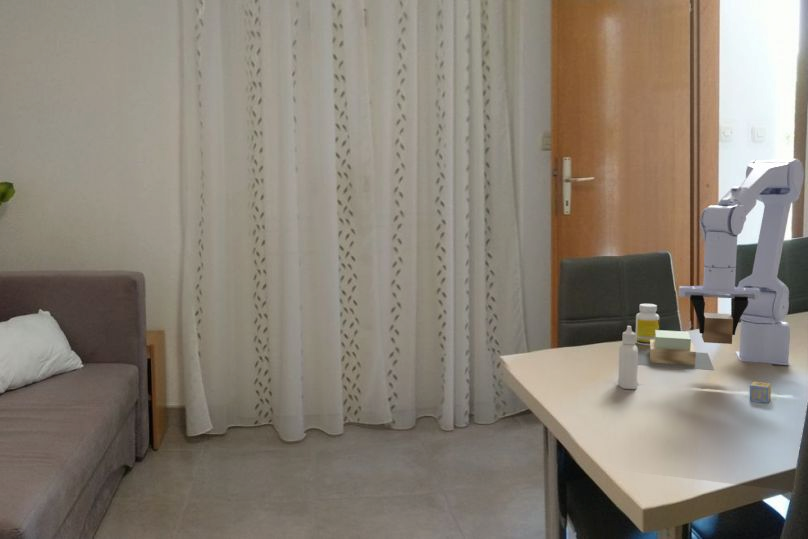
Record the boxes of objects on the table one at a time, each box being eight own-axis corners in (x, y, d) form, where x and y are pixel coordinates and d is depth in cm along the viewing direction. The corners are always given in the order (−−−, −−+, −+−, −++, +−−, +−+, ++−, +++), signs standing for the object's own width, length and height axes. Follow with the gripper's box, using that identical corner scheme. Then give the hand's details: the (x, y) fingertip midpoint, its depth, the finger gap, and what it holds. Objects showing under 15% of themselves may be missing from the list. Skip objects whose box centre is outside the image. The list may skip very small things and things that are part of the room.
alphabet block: (748, 400, 121) (749, 384, 120) (751, 396, 123) (752, 380, 123) (767, 404, 119) (768, 387, 118) (770, 399, 121) (771, 383, 121)
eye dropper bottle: (643, 384, 131) (645, 325, 129) (633, 391, 127) (635, 330, 125) (622, 380, 134) (623, 322, 132) (611, 387, 130) (612, 327, 128)
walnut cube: (728, 338, 134) (729, 313, 134) (731, 343, 130) (733, 319, 129) (701, 336, 136) (702, 312, 135) (704, 342, 131) (705, 317, 130)
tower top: (688, 342, 149) (688, 331, 148) (690, 350, 142) (690, 339, 142) (654, 340, 151) (655, 330, 151) (655, 348, 144) (656, 337, 144)
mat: (707, 355, 151) (707, 353, 151) (714, 372, 138) (714, 370, 138) (633, 350, 156) (633, 348, 156) (633, 366, 143) (633, 364, 143)
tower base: (691, 354, 150) (692, 341, 149) (695, 365, 141) (695, 351, 141) (649, 352, 153) (650, 339, 152) (650, 362, 144) (650, 349, 144)
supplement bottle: (661, 346, 159) (663, 306, 158) (639, 347, 159) (640, 307, 158) (653, 341, 164) (655, 302, 163) (632, 341, 164) (633, 303, 163)
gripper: (681, 267, 129) (679, 335, 131) (764, 269, 125) (760, 340, 126) (679, 263, 136) (676, 327, 138) (758, 265, 131) (754, 331, 133)
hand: (716, 333), depth 133 cm, fingers closed on walnut cube, 5 cm apart
